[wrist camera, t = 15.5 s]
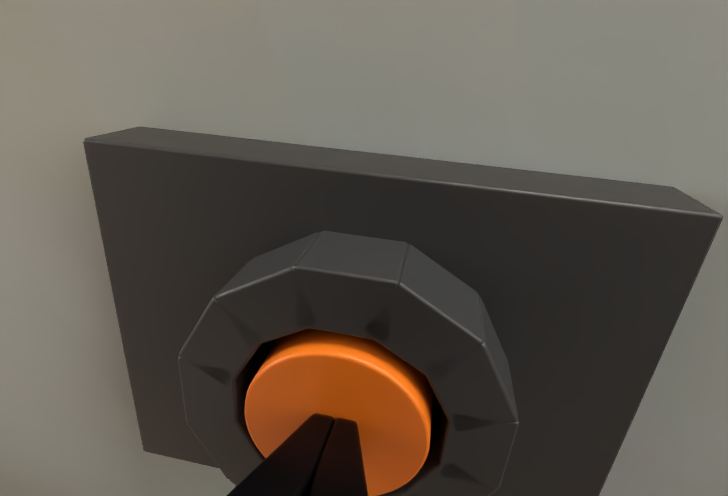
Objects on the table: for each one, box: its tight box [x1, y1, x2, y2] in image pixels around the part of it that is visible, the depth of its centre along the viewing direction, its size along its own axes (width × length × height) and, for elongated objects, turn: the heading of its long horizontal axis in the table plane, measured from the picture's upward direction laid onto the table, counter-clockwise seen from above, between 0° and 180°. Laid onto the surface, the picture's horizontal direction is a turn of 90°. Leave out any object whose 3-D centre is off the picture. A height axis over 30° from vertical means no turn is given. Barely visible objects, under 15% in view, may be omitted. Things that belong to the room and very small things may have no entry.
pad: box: [83, 127, 723, 496], centre depth 10 cm, size 12×9×4 cm
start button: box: [245, 328, 433, 496], centre depth 9 cm, size 4×4×2 cm
